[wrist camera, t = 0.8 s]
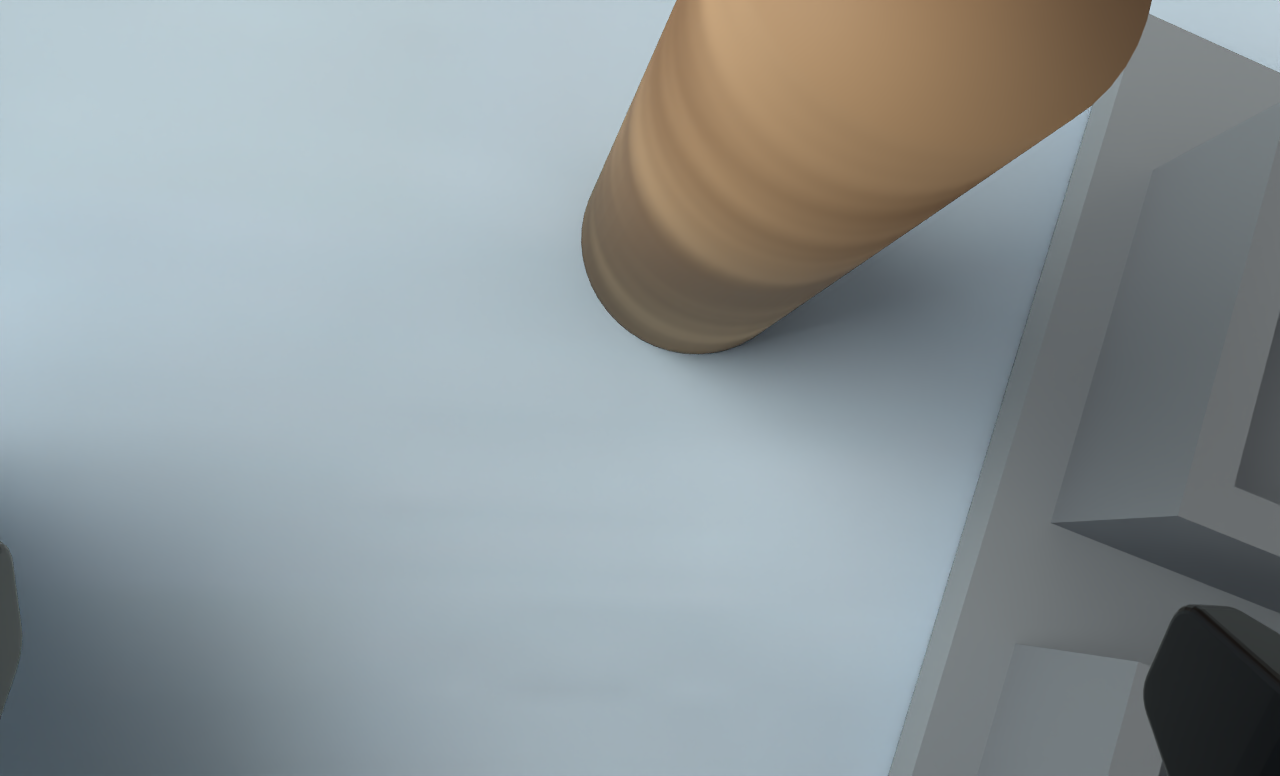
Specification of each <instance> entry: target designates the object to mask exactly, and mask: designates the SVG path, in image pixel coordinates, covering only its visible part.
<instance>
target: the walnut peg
mask: <svg viewBox="0 0 1280 776" xmlns="http://www.w3.org/2000/svg"><path fill="white" fill-rule="evenodd" d="M1151 1H1152V0H677V1H676V3H675V5H674V7H673V10H672V12H671V14H670V17H669V19H668V21H667V23H666V26H665V28H664V30H663V32H662V35H661V37H660V39H659V42H658V44H657V46H656V48H655V51H654V53H653V55H652V57H651V60H650V62H649V64H648V67H647V69H646V71H645V73H644V76H643V78H642V80H641V82H640V85H639V87H638V89H637V92H636V94H635V96H634V98H633V101H632V103H631V105H630V107H629V110H628V112H627V114H626V117H625V119H624V121H623V123H622V126H621V128H620V130H619V132H618V135H617V137H616V139H615V142H614V144H613V146H612V148H611V151H610V153H609V155H608V157H607V160H606V162H605V164H604V167H603V169H602V171H601V173H600V176H599V178H598V180H597V182H596V185H595V187H594V189H593V192H592V194H591V196H590V198H589V201H588V204H587V207H586V210H585V213H584V218H583V224H582V237H581V245H582V255H583V261H584V265H585V269H586V273H587V275H588V278H589V281H590V283H591V286H592V288H593V290H594V291H595V293H596V295H597V297H598V299H599V300H600V302H601V303H602V304H603V306H604V307H605V309H606V310H607V311H608V312H609V314H610V315H611V316H612V317H613V318H614V319H615V320H616V321H617V322H618V323H619V324H620V325H622V326H623V327H624V328H625V329H626V330H628V331H629V332H630V333H632V334H633V335H635V336H636V337H638V338H640V339H641V340H643V341H645V342H647V343H650V344H652V345H654V346H656V347H659V348H662V349H666V350H669V351H674V352H679V353H687V354H705V353H714V352H719V351H724V350H727V349H730V348H733V347H736V346H738V345H741V344H743V343H745V342H746V341H748V340H750V339H752V338H754V337H755V336H756V335H758V334H759V333H761V332H762V331H764V330H765V329H767V328H768V327H770V326H771V325H773V324H774V323H775V322H777V321H778V320H780V319H781V318H783V317H784V316H786V315H787V314H789V313H790V312H792V311H793V310H794V309H796V308H797V307H799V306H800V305H802V304H803V303H805V302H806V301H808V300H809V299H811V298H812V297H813V296H815V295H816V294H818V293H819V292H821V291H822V290H824V289H825V288H827V287H828V286H830V285H831V284H832V283H834V282H835V281H837V280H838V279H840V278H841V277H843V276H844V275H846V274H847V273H849V272H850V271H851V270H853V269H854V268H856V267H857V266H859V265H860V264H862V263H863V262H865V261H866V260H868V259H869V258H870V257H872V256H873V255H875V254H876V253H878V252H879V251H881V250H882V249H884V248H885V247H887V246H888V245H889V244H891V243H892V242H894V241H895V240H897V239H898V238H900V237H901V236H903V235H904V234H906V233H907V232H908V231H910V230H911V229H913V228H914V227H916V226H917V225H919V224H920V223H922V222H923V221H925V220H926V219H927V218H929V217H930V216H932V215H933V214H935V213H936V212H938V211H939V210H941V209H942V208H944V207H945V206H947V205H948V204H949V203H951V202H952V201H954V200H955V199H957V198H958V197H960V196H961V195H963V194H964V193H966V192H967V191H968V190H970V189H971V188H973V187H974V186H976V185H977V184H979V183H980V182H982V181H983V180H985V179H986V178H987V177H989V176H990V175H992V174H993V173H995V172H996V171H998V170H999V169H1001V168H1002V167H1004V166H1005V165H1006V164H1008V163H1009V162H1011V161H1012V160H1014V159H1015V158H1017V157H1018V156H1020V155H1021V154H1023V153H1024V152H1025V151H1027V150H1028V149H1030V148H1031V147H1033V146H1034V145H1036V144H1037V143H1039V142H1040V141H1042V140H1043V139H1044V138H1046V137H1047V136H1049V135H1050V134H1052V133H1053V132H1055V131H1056V130H1058V129H1059V128H1061V127H1062V126H1063V125H1065V124H1066V123H1068V122H1069V121H1071V120H1072V119H1074V118H1075V117H1076V116H1078V115H1079V114H1080V113H1082V112H1083V111H1085V110H1086V109H1087V108H1089V107H1090V106H1092V105H1093V104H1094V103H1095V102H1096V101H1097V100H1098V99H1099V98H1100V97H1101V96H1102V95H1103V94H1104V93H1105V92H1106V91H1107V90H1108V89H1109V88H1110V87H1111V86H1112V84H1113V83H1114V82H1115V81H1116V79H1117V78H1118V77H1119V75H1120V74H1121V73H1122V71H1123V70H1124V69H1125V67H1126V66H1127V64H1128V62H1129V60H1130V58H1131V57H1132V55H1133V53H1134V51H1135V49H1136V48H1137V46H1138V43H1139V41H1140V38H1141V36H1142V33H1143V30H1144V28H1145V25H1146V22H1147V19H1148V14H1149V10H1150V6H1151Z"/></svg>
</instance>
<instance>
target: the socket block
mask: <svg viewBox="0 0 1280 776" xmlns="http://www.w3.org/2000/svg"><path fill="white" fill-rule="evenodd" d="M1189 604H1199V605H1218V606H1229V607H1233V608H1236V609H1238V610H1240V611H1242V612H1244V613H1245V614H1247V615H1249V616H1250V617H1252V618H1254V619H1255V620H1257V621H1259V622H1260V623H1262V624H1264V625H1266V626H1267V627H1269V628H1271V629H1272V630H1274V631H1276V632H1277V633H1279V634H1280V73H1279V72H1277V71H1274V70H1272V69H1270V68H1268V67H1266V66H1263V65H1261V64H1259V63H1257V62H1255V61H1252V60H1250V59H1248V58H1246V57H1243V56H1241V55H1239V54H1237V53H1235V52H1232V51H1230V50H1228V49H1226V48H1224V47H1221V46H1219V45H1217V44H1215V43H1212V42H1210V41H1208V40H1206V39H1204V38H1201V37H1199V36H1197V35H1195V34H1193V33H1190V32H1188V31H1186V30H1184V29H1181V28H1179V27H1177V26H1175V25H1173V24H1170V23H1168V22H1166V21H1164V20H1162V19H1159V18H1157V17H1155V16H1153V15H1150V14H1148V19H1147V22H1146V25H1145V28H1144V30H1143V33H1142V36H1141V38H1140V41H1139V43H1138V46H1137V48H1136V49H1135V51H1134V53H1133V55H1132V57H1131V58H1130V60H1129V62H1128V64H1127V66H1126V67H1125V69H1124V70H1123V71H1122V73H1121V74H1120V75H1119V77H1118V78H1117V79H1116V81H1115V82H1114V83H1113V84H1112V86H1111V87H1110V88H1109V89H1108V90H1107V91H1106V92H1105V93H1104V94H1103V95H1102V96H1101V97H1100V98H1099V99H1098V100H1097V101H1096V102H1095V103H1094V104H1093V106H1092V109H1091V113H1090V116H1089V119H1088V122H1087V126H1086V129H1085V132H1084V135H1083V139H1082V142H1081V145H1080V149H1079V152H1078V155H1077V158H1076V162H1075V165H1074V168H1073V172H1072V175H1071V178H1070V181H1069V185H1068V188H1067V191H1066V195H1065V198H1064V201H1063V204H1062V208H1061V211H1060V214H1059V217H1058V221H1057V224H1056V227H1055V231H1054V234H1053V237H1052V240H1051V244H1050V247H1049V250H1048V254H1047V257H1046V260H1045V263H1044V267H1043V270H1042V273H1041V277H1040V280H1039V283H1038V286H1037V290H1036V293H1035V296H1034V299H1033V303H1032V306H1031V309H1030V313H1029V316H1028V319H1027V322H1026V326H1025V329H1024V332H1023V336H1022V339H1021V342H1020V345H1019V349H1018V352H1017V355H1016V359H1015V362H1014V365H1013V368H1012V372H1011V375H1010V378H1009V382H1008V385H1007V388H1006V391H1005V395H1004V398H1003V401H1002V404H1001V408H1000V411H999V414H998V418H997V421H996V424H995V427H994V431H993V434H992V437H991V441H990V444H989V447H988V450H987V454H986V457H985V460H984V464H983V467H982V470H981V473H980V477H979V480H978V483H977V486H976V490H975V493H974V496H973V500H972V503H971V506H970V509H969V513H968V516H967V519H966V523H965V526H964V529H963V532H962V536H961V539H960V542H959V546H958V549H957V552H956V555H955V559H954V562H953V565H952V568H951V572H950V575H949V578H948V582H947V585H946V588H945V591H944V595H943V598H942V601H941V605H940V608H939V611H938V614H937V618H936V621H935V624H934V628H933V631H932V634H931V637H930V641H929V644H928V647H927V651H926V654H925V657H924V660H923V664H922V667H921V670H920V673H919V677H918V680H917V683H916V687H915V690H914V693H913V696H912V700H911V703H910V706H909V710H908V713H907V716H906V719H905V723H904V726H903V729H902V733H901V736H900V739H899V742H898V746H897V749H896V752H895V755H894V759H893V762H892V765H891V769H890V772H889V775H888V776H1167V773H1166V770H1165V767H1164V764H1163V761H1162V758H1161V755H1160V753H1159V750H1158V747H1157V744H1156V741H1155V738H1154V735H1153V732H1152V729H1151V726H1150V723H1149V720H1148V718H1147V715H1146V711H1145V707H1144V701H1143V688H1144V682H1145V678H1146V675H1147V673H1148V671H1149V668H1150V666H1151V664H1152V662H1153V659H1154V657H1155V655H1156V652H1157V650H1158V648H1159V646H1160V643H1161V641H1162V639H1163V637H1164V634H1165V632H1166V630H1167V628H1168V625H1169V623H1170V621H1171V619H1172V617H1173V615H1174V614H1175V613H1176V612H1177V611H1178V610H1179V609H1180V608H1181V607H1183V606H1186V605H1189Z"/></svg>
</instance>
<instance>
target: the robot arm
mask: <svg viewBox="0 0 1280 776" xmlns="http://www.w3.org/2000/svg"><path fill="white" fill-rule="evenodd" d="M21 647H22V626H21V619H20V611H19V604H18V596H17V589H16V581H15V574H14V566H13V560H12V556H11V554H10V551H9V549H8V547H7V546H6V545H4V544H3V543H2V542H0V718H1V715H2V712H3V709H4V706H5V703H6V700H7V697H8V694H9V691H10V688H11V685H12V682H13V679H14V676H15V673H16V670H17V667H18V663H19V659H20V654H21ZM1143 701H1144V707H1145V711H1146V715H1147V718H1148V720H1149V723H1150V726H1151V729H1152V732H1153V735H1154V738H1155V741H1156V744H1157V747H1158V750H1159V753H1160V755H1161V758H1162V761H1163V764H1164V767H1165V770H1166V773H1167V776H1280V634H1279V633H1277V632H1276V631H1274V630H1272V629H1271V628H1269V627H1267V626H1266V625H1264V624H1262V623H1260V622H1259V621H1257V620H1255V619H1254V618H1252V617H1250V616H1249V615H1247V614H1245V613H1244V612H1242V611H1240V610H1238V609H1236V608H1233V607H1229V606H1218V605H1199V604H1189V605H1186V606H1183V607H1181V608H1180V609H1179V610H1178V611H1177V612H1176V613H1175V614H1174V615H1173V617H1172V619H1171V621H1170V623H1169V625H1168V628H1167V630H1166V632H1165V634H1164V637H1163V639H1162V641H1161V643H1160V646H1159V648H1158V650H1157V652H1156V655H1155V657H1154V659H1153V662H1152V664H1151V666H1150V668H1149V671H1148V673H1147V675H1146V678H1145V682H1144V688H1143Z"/></svg>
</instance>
